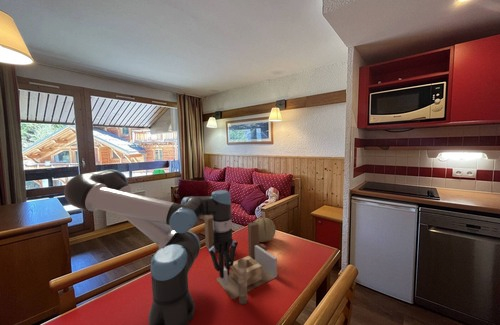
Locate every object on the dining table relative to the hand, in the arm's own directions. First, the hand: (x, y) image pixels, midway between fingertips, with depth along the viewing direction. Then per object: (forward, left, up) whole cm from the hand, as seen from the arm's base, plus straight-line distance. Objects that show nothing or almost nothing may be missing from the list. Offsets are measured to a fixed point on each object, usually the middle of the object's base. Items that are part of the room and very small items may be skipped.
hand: (224, 283), depth 86 cm
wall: (+22, +1, -3) cm, 22 cm away
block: (+12, +34, -3) cm, 36 cm away
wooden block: (+27, +13, -3) cm, 30 cm away
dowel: (+3, -10, -3) cm, 11 cm away
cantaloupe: (+40, +24, -3) cm, 46 cm away
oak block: (+11, 0, -3) cm, 11 cm away
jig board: (+12, +1, -3) cm, 12 cm away
